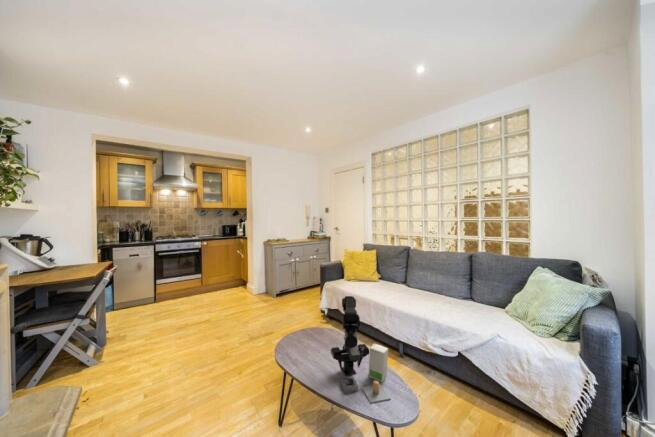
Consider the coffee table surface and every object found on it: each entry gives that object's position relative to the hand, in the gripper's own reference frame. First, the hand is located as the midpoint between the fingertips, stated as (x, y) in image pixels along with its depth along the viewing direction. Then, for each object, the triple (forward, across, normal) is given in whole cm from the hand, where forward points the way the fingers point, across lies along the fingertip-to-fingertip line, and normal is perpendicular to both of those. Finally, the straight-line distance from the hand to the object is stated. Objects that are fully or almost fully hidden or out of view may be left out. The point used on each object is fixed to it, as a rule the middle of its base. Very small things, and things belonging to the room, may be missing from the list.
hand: (349, 368), depth 124 cm
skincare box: (+10, +18, +4) cm, 21 cm away
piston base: (+10, +11, -8) cm, 16 cm away
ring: (+10, 0, 0) cm, 10 cm away
